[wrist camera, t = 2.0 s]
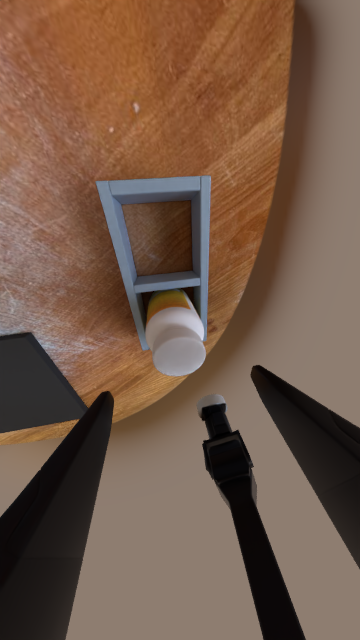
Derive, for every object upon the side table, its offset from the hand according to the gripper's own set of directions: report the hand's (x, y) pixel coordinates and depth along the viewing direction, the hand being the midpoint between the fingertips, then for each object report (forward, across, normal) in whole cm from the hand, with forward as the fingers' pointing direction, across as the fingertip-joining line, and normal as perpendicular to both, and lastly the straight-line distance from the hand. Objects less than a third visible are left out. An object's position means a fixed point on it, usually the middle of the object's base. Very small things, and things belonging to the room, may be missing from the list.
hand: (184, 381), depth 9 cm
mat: (+12, +28, +11) cm, 32 cm away
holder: (+12, 0, -4) cm, 12 cm away
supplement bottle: (+12, 0, 0) cm, 12 cm away
